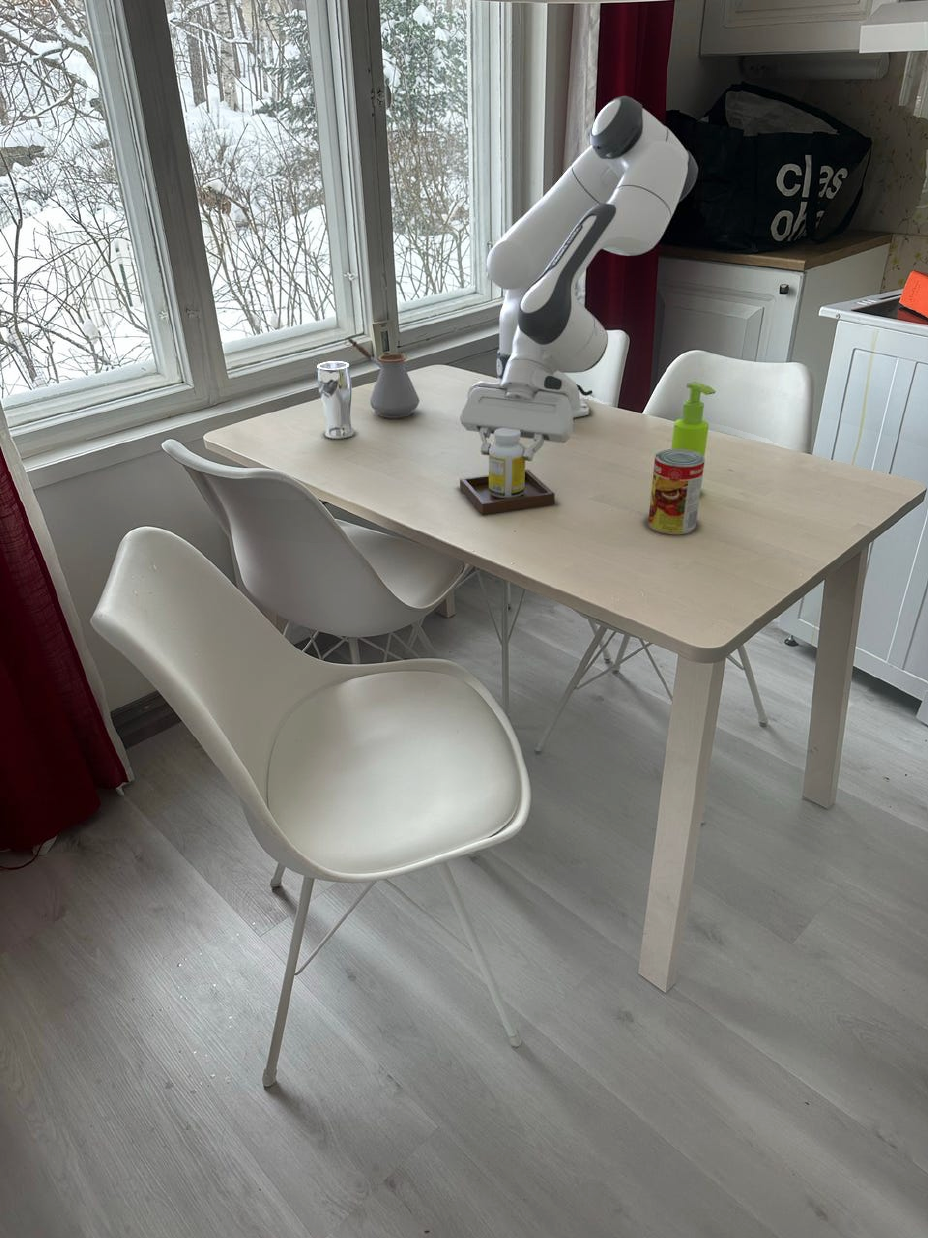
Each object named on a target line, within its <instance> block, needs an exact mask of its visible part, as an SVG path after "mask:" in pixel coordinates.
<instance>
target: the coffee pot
mask: <svg viewBox="0 0 928 1238" xmlns="http://www.w3.org/2000/svg"><path fill="white" fill-rule="evenodd" d="M347 342H349V344H346V343H347ZM351 345H352V347H355V348H356V350H357V351H358V352H359V353H361V354H362V355H364V356H365V357H366V358H367V359H369V360H370V361H372V362H373V363H374V364H375V365H376V366H377V367H378V368H379V369H380V370H379V373H378V376H377V378H376V381H375V385H374V388H373V390H372V393H371V395H370V399H369V404H370V406H371V408H372V409H373V410H374V412H376V413H378V415H379V416H380V417H384V418H387V419H388V418H389V419H397V418H405V417H407V416H410V415H412V413H413V411H415V410H417V408H418V406H419V404H420V397H419V396H418V393H417V391H416V389H415V387H414V385H413V383H412V381H411V379H410V376H409V374H408V372H407V370H406V368H405V361H406V360H407V356H406V355H405V354H403V353H387V354H382V355H379V356H378V357H377V359H378V360H377V359H376V358H375V357H374V356H373V355H372V354H370V353H369V351H368V350H367V349H365V347H363V346H362V345H360V344H359V343H358V341H356V340H355V341H354V340H353V339H352V338H351V337H348V338H347V339H345V341H344V346H347V347H349V346H351Z"/></svg>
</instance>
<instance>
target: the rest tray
mask: <svg viewBox="0 0 928 1238" xmlns="http://www.w3.org/2000/svg"><path fill="white" fill-rule="evenodd" d="M459 490H460V491H461V492H462V493H463V494H464V495H465V497H466V498H467V499H468V500H469V501H470V502H471V503H472V505H473V506H474V507H475V508H476V509H477V511H478V512H479V513H480V514H481V515H482V516H484V515H486V516H487V515H492V514H498V513H504V512H511V511H518V510H519V511H520V510H525V509H531V508H532V509H533V508H538V507H539V508H540V507H546V506H552V505H555V492H553V490H551V488H549V487H548V486H547V485H546V484H545V483H544V482H542V480H540V479H539V478H538V477H537V476H536V475H535V474H533V472H531V470H530V469H525V485H524V492H523V494H522V495H521V496H519V497H515V498H508V499H503V498H498V497H495V496H493V495H492V494H491V493H490V492H489V474H485V475H478V476H470V477H462V478H459Z"/></svg>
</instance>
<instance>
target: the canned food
mask: <svg viewBox="0 0 928 1238" xmlns="http://www.w3.org/2000/svg"><path fill="white" fill-rule="evenodd" d="M705 459H706V457H705V456H703V455H701V454H700V453H697V452H695V451H691V450H685V449H671V448H670V449H669V448H668V449H663V450H660V451H658V452H656V454H654V464H653V471H652V483H651V492H650V502H649V510H648V511H649V512H648V520H647V524H648V527H650V529H652V530H653V531H656V532H659V533H662V534H667V535H685V534H688V533H689V534H690V533H691V532H693V531H695V529H696V526H697V519H698V511H699V504H700V498H701V489H702V483H703V475H704V469H705V461H706V460H705Z"/></svg>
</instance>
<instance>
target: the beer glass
mask: <svg viewBox="0 0 928 1238" xmlns="http://www.w3.org/2000/svg"><path fill="white" fill-rule="evenodd" d="M316 367H317V386H318V393H319V397H320V402H321V405H322V409H323V413H324V417H325V418H324V419H325V431H324V435H325V437H326V438H329V439H333V440H343V439H348V438H350V437H352V436H353V435H354V430H353V426H352V422H351V405H352V395H353V394H352V393H353V391H352V390H353V389H352V388H353V387H352V378H351V377H352V376H351V372H350V364H349V363H348V362H345V361H326V362H322V363H319V364H318V365H317V366H316Z"/></svg>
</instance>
